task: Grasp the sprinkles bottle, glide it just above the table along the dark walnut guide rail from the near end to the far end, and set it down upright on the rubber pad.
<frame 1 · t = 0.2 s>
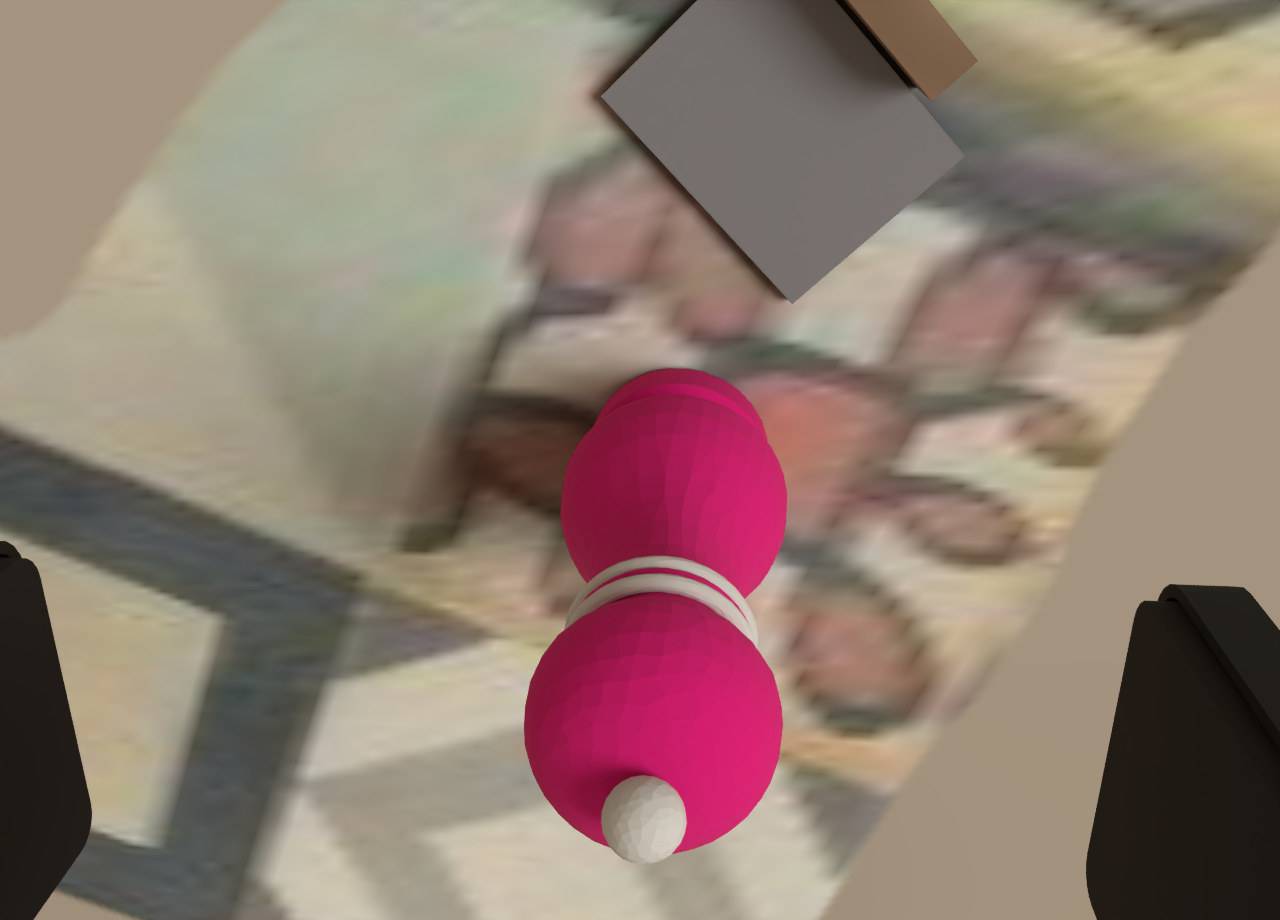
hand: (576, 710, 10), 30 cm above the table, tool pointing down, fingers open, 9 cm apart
end pad: (782, 123, 38), on the table
pepper mill: (679, 447, 43), on the table
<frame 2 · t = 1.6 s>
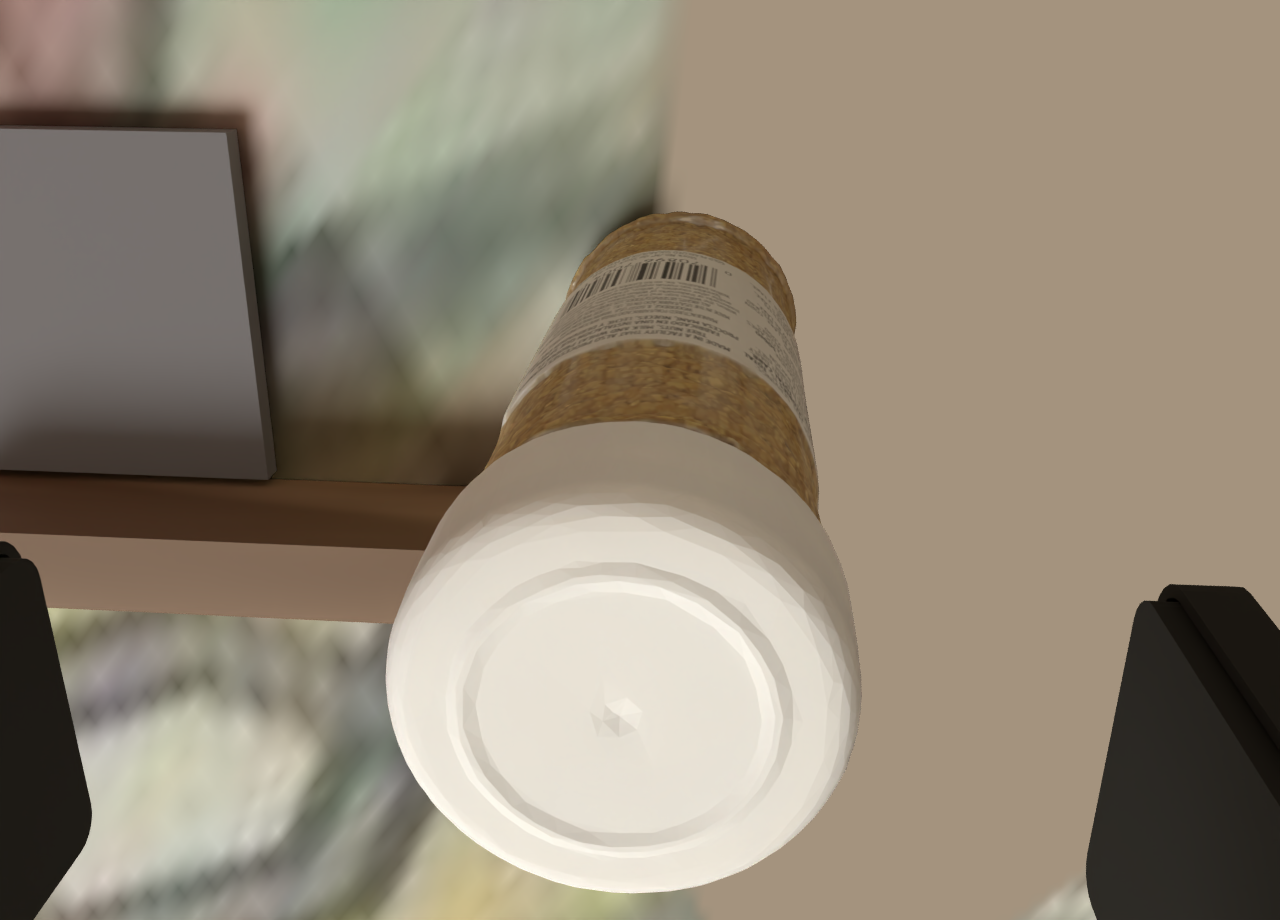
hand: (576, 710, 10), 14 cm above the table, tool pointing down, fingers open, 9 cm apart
end pad: (41, 303, 24), on the table
sprinkles bottle: (682, 318, 24), on the table
guide rail: (373, 517, 26), on the table
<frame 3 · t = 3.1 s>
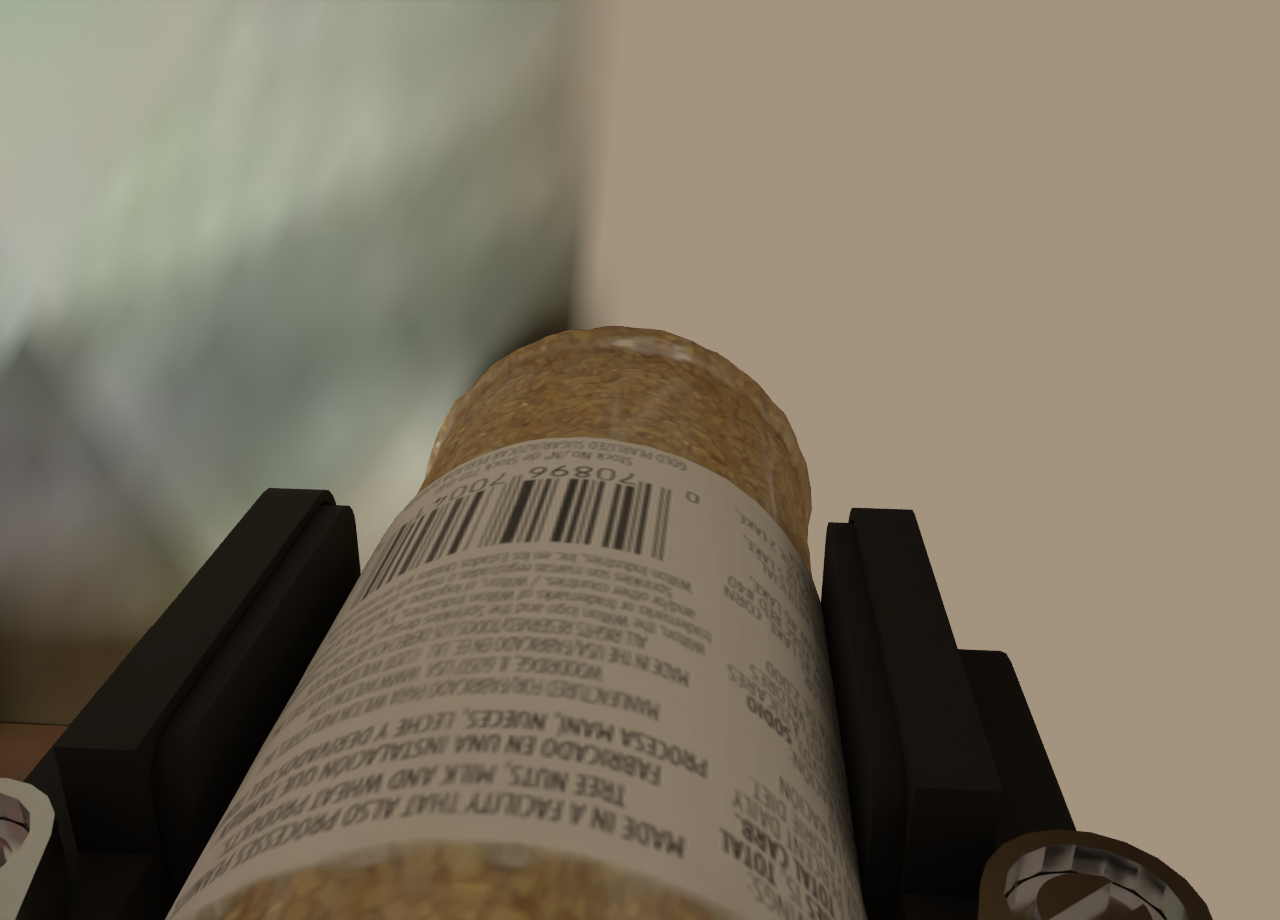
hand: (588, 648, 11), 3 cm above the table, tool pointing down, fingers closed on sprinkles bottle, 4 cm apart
sprinkles bottle: (625, 488, 14), on the table, touching gripper
guide rail: (149, 777, 16), on the table
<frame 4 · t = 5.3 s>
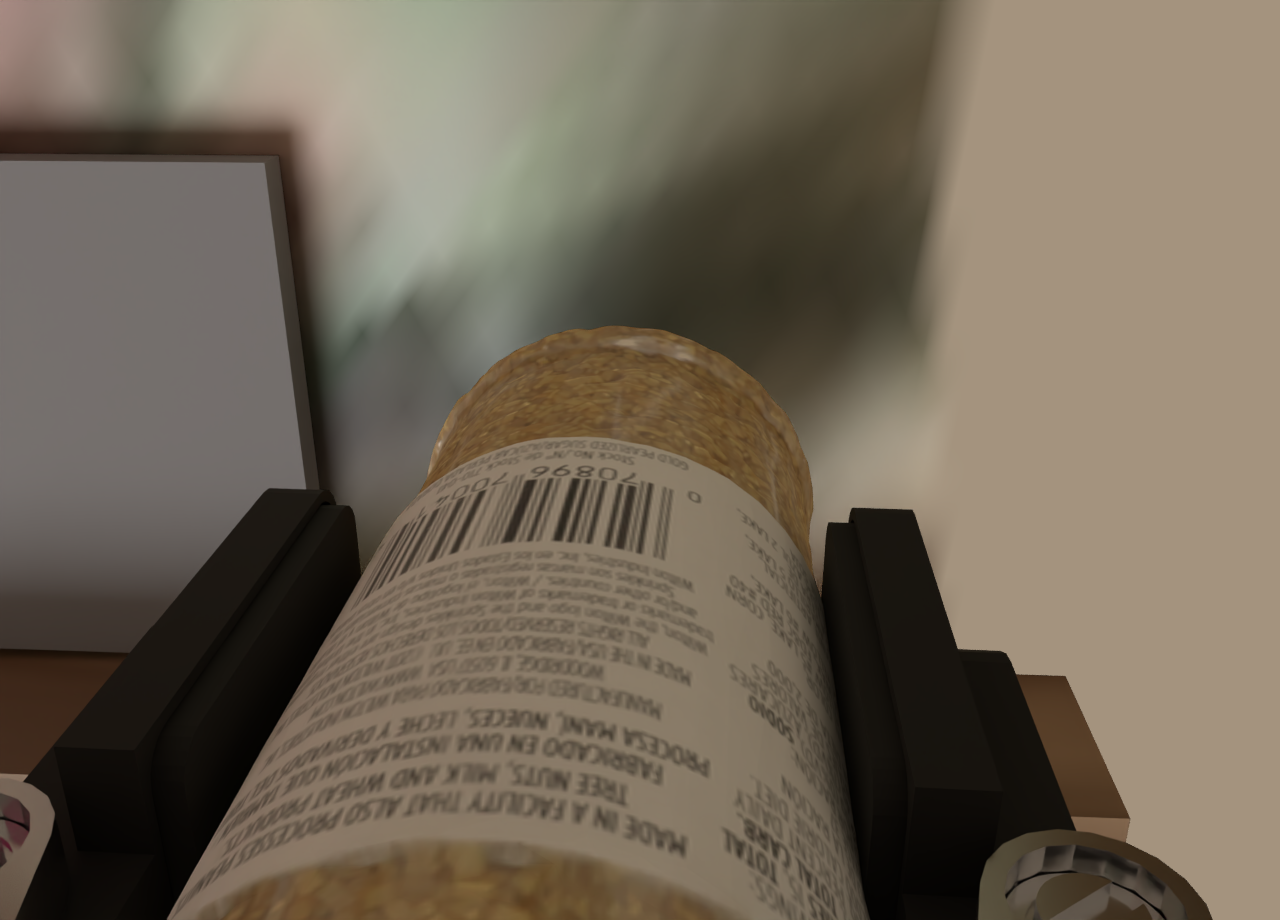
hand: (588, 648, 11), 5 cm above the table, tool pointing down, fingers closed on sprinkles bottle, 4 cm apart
sprinkles bottle: (626, 488, 14), point 2 cm above the table, touching gripper
guide rail: (477, 702, 18), on the table
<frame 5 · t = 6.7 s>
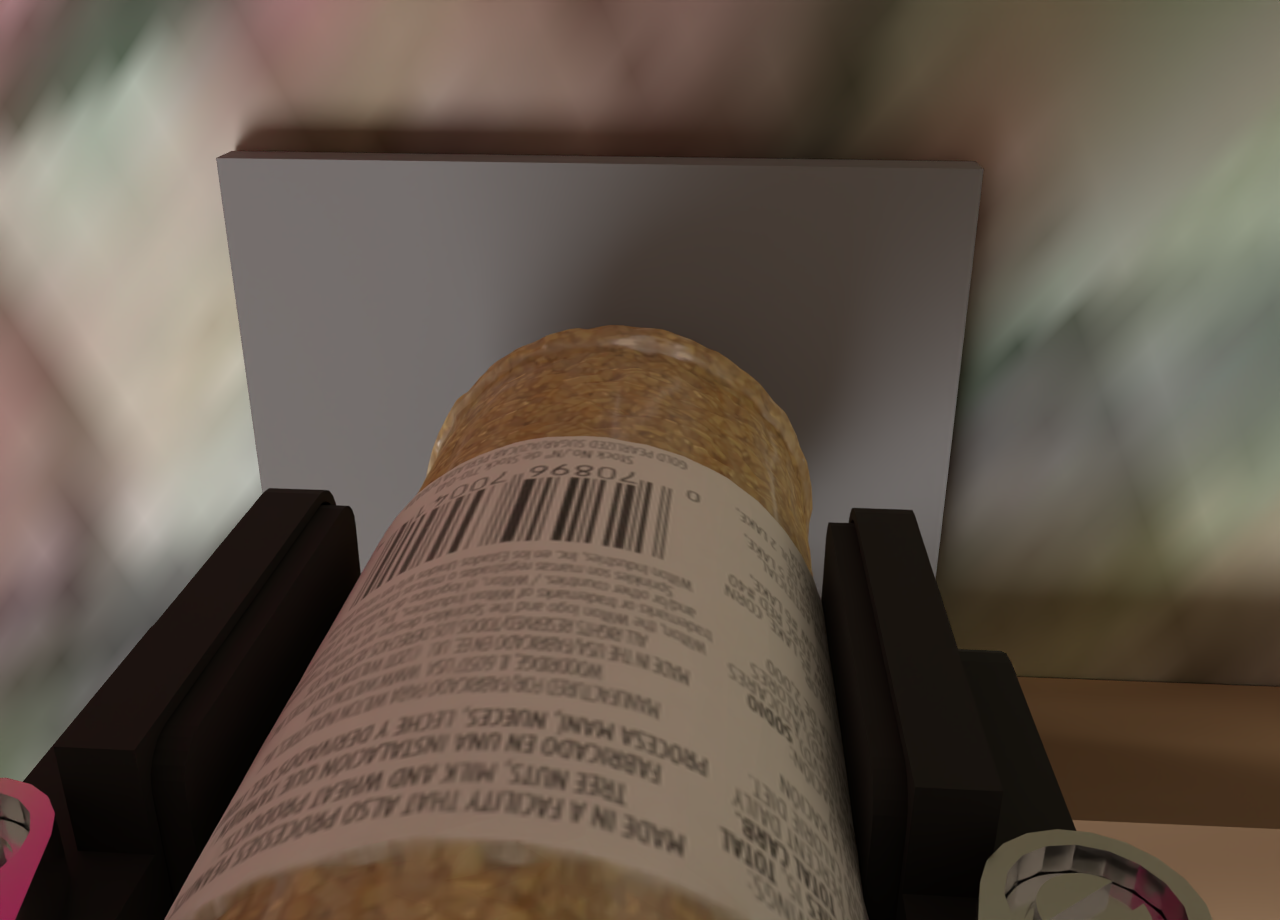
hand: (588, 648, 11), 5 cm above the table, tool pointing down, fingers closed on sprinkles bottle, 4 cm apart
end pad: (600, 424, 16), on the table
sprinkles bottle: (626, 487, 14), point 2 cm above the table, touching gripper
guide rail: (1051, 724, 17), on the table
when the fingers open (4 cm above the table, at t = 7.8 s): sprinkles bottle stays where it is, resting on end pad.
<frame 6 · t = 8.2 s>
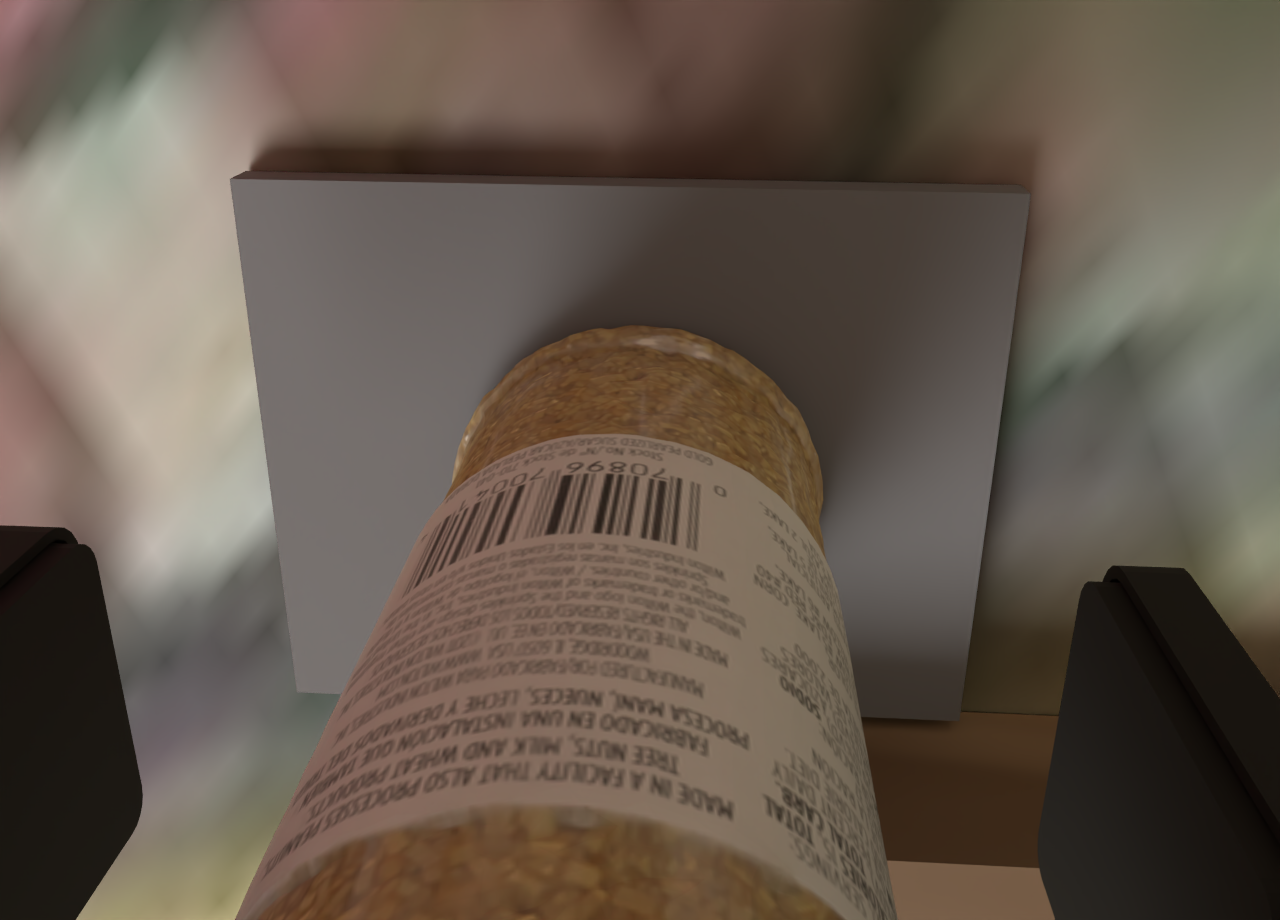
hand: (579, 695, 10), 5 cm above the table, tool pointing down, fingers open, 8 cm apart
end pad: (625, 454, 15), on the table
sprinkles bottle: (643, 479, 15), resting on end pad
guide rail: (1090, 765, 17), on the table
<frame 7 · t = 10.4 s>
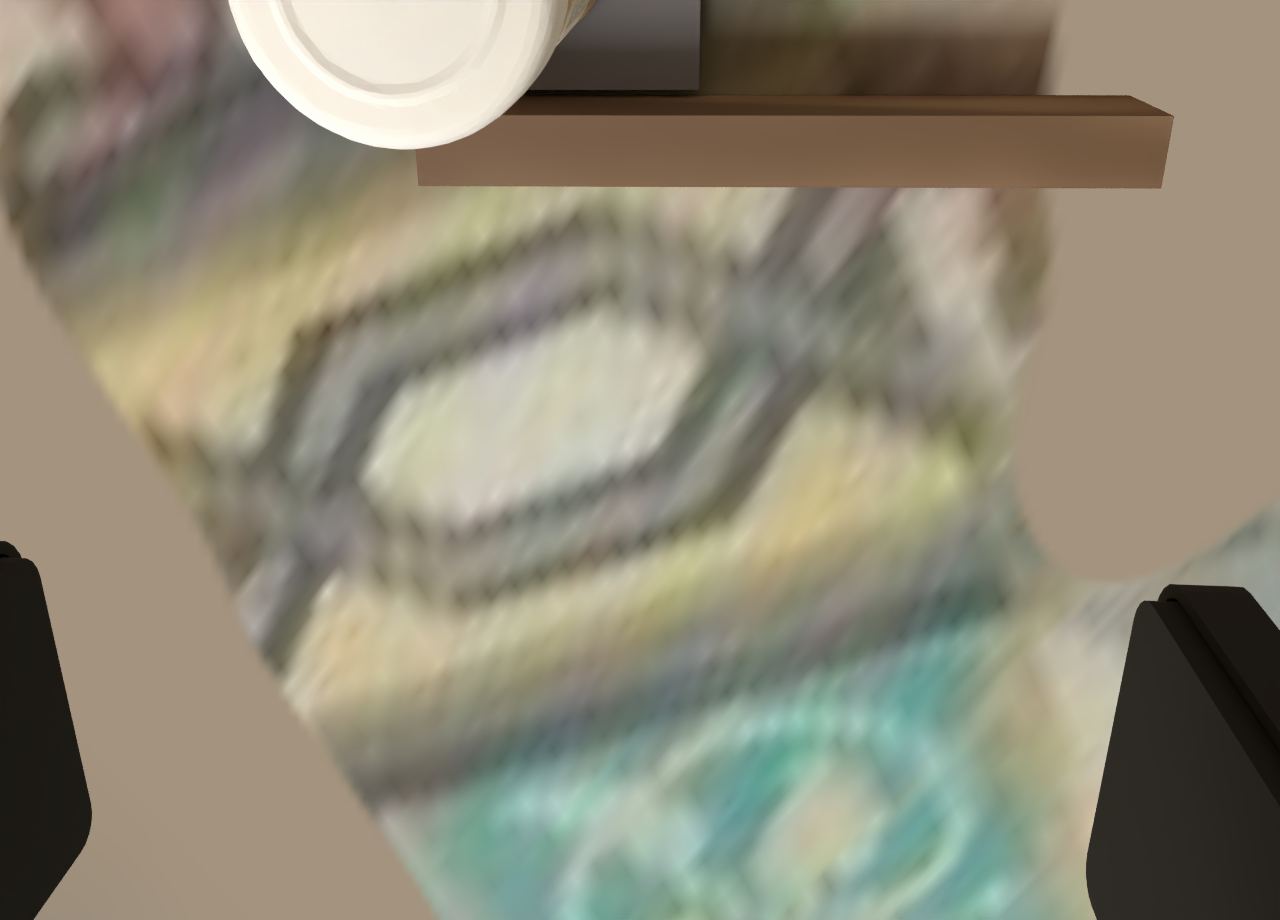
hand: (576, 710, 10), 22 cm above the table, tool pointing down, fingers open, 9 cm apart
guide rail: (778, 128, 30), on the table
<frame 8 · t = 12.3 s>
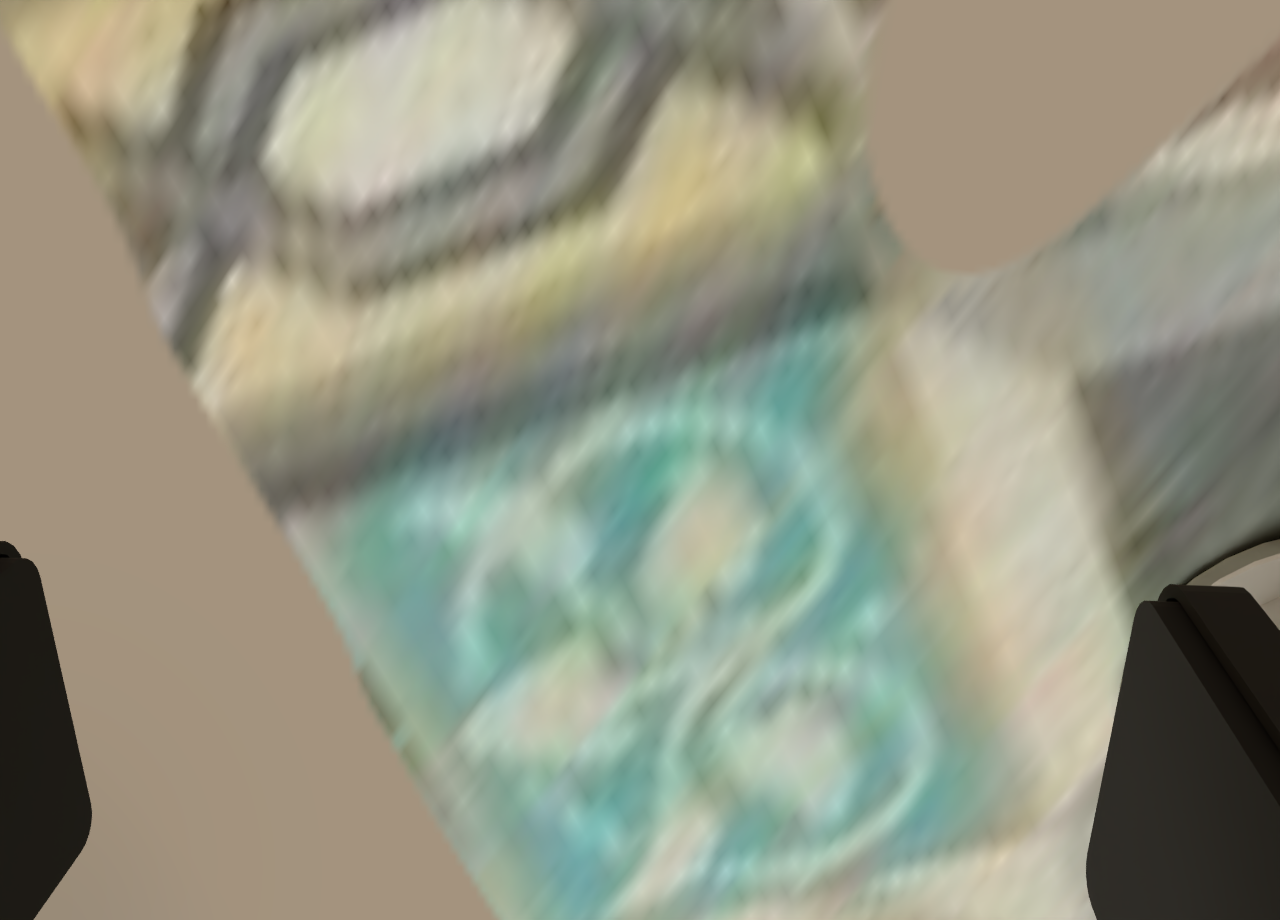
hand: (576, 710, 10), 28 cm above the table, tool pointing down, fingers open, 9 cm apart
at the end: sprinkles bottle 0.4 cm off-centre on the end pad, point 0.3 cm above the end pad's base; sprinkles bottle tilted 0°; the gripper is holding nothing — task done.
